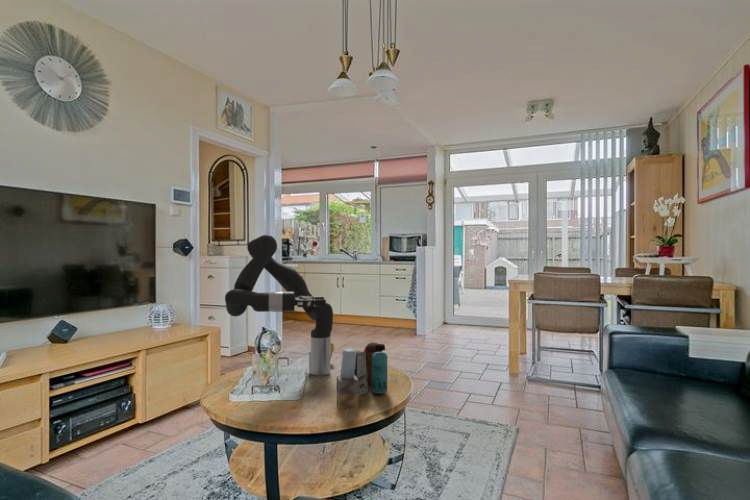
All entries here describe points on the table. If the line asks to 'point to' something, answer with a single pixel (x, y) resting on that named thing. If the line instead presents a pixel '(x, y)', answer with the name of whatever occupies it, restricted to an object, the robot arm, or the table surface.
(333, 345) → the plant pot
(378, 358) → the beverage bottle
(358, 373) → the coffee box
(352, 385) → the tower top
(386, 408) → the table surface
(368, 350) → the wooden figurine
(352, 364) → the dowel
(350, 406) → the tower base
